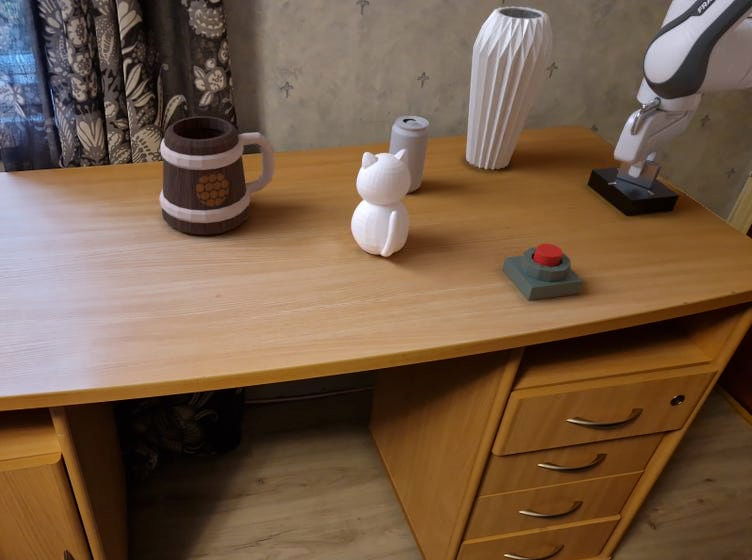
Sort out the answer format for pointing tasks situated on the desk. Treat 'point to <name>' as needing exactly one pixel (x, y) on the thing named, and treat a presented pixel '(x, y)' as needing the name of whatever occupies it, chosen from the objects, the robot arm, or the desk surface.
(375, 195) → the cat figurine
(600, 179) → the block
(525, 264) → the button block
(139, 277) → the desk surface
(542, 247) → the button
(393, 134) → the beverage can
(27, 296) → the desk surface
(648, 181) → the tap handle
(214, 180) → the mug
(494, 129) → the vase
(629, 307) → the desk surface
